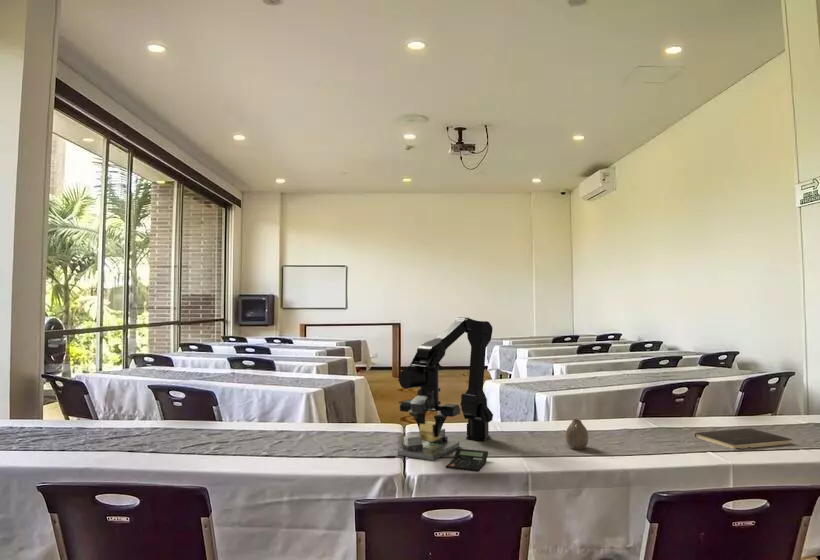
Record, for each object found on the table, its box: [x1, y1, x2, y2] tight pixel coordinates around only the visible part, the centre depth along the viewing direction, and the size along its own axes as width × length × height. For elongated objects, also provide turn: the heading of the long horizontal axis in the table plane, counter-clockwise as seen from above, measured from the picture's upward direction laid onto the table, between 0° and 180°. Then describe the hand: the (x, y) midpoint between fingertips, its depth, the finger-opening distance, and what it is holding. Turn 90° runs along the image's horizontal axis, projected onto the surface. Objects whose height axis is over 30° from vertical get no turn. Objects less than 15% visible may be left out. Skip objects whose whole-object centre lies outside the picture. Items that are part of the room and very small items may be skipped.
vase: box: [565, 418, 589, 451], centre depth 174 cm, size 7×7×9 cm
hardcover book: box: [694, 427, 792, 450], centre depth 182 cm, size 16×23×2 cm
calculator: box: [445, 447, 489, 472], centre depth 157 cm, size 9×12×3 cm
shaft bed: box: [397, 427, 460, 462], centre depth 171 cm, size 12×18×5 cm, turn 150°
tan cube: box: [418, 420, 439, 442], centre depth 171 cm, size 5×5×5 cm
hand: (429, 435), depth 171 cm, fingers closed on tan cube, 5 cm apart
